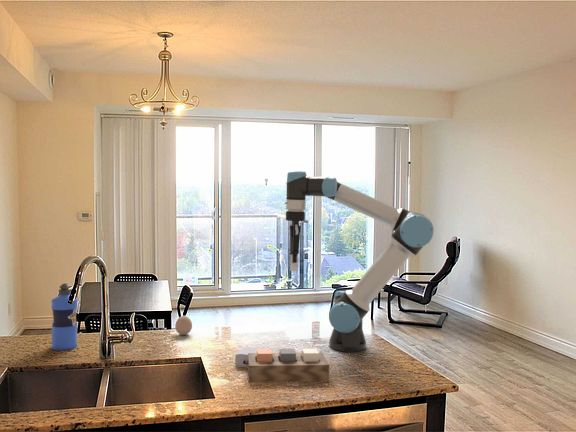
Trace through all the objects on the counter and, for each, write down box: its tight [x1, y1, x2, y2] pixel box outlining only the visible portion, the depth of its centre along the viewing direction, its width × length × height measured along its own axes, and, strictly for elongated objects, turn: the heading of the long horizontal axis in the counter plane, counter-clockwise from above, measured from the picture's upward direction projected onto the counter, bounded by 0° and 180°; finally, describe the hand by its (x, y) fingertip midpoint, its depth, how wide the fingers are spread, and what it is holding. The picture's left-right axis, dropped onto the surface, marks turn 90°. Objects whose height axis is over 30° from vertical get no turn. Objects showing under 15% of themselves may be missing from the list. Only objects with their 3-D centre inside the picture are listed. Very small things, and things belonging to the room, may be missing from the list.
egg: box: [174, 315, 193, 336], centre depth 224 cm, size 7×7×8 cm
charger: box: [234, 346, 264, 368], centre depth 193 cm, size 5×9×15 cm
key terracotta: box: [256, 348, 274, 362], centre depth 179 cm, size 5×5×6 cm
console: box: [247, 352, 330, 383], centre depth 180 cm, size 27×13×6 cm, turn 96°
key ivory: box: [301, 348, 320, 362], centre depth 180 cm, size 5×5×6 cm
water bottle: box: [51, 283, 79, 352], centre depth 202 cm, size 9×9×25 cm
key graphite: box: [278, 348, 297, 362], centre depth 180 cm, size 5×5×6 cm
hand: (293, 270), depth 203 cm, fingers closed
